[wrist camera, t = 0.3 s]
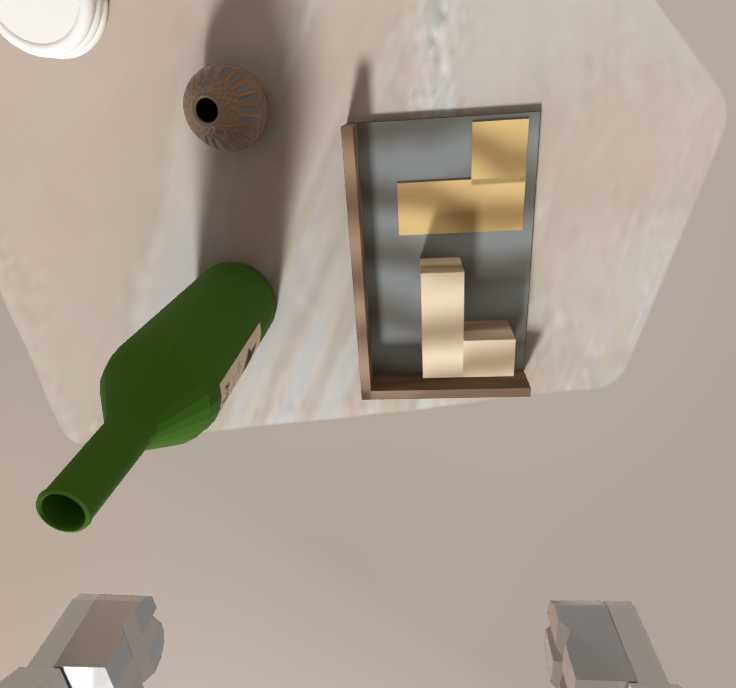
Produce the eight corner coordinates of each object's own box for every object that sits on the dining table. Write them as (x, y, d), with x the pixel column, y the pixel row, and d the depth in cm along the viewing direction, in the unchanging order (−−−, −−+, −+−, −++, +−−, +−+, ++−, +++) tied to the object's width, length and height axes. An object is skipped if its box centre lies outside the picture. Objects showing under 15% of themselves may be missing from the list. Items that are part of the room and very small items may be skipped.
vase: (187, 107, 50) (146, 110, 42) (232, 47, 48) (197, 39, 40) (244, 162, 52) (214, 174, 44) (290, 107, 50) (267, 109, 42)
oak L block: (419, 258, 54) (420, 273, 50) (510, 254, 54) (519, 269, 49) (421, 356, 59) (423, 378, 54) (505, 353, 58) (513, 375, 54)
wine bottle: (264, 350, 61) (128, 592, 31) (187, 321, 60) (-27, 542, 30) (288, 280, 57) (159, 480, 27) (206, 248, 56) (-16, 420, 27)
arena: (346, 123, 50) (340, 126, 46) (538, 111, 48) (551, 113, 44) (365, 378, 61) (361, 399, 57) (521, 375, 60) (530, 396, 56)
